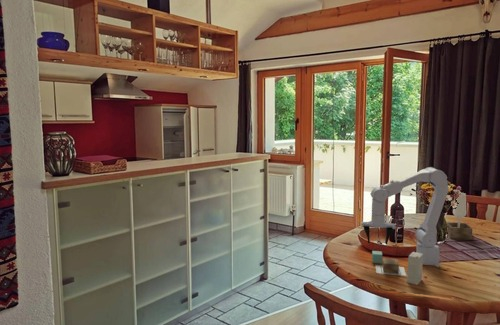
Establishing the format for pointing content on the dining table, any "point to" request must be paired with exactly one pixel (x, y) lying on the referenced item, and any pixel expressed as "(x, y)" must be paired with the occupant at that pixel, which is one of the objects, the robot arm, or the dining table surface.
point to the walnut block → (390, 265)
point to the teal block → (376, 256)
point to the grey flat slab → (380, 270)
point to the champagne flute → (460, 208)
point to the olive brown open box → (459, 230)
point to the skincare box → (415, 268)
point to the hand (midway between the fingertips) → (377, 242)
